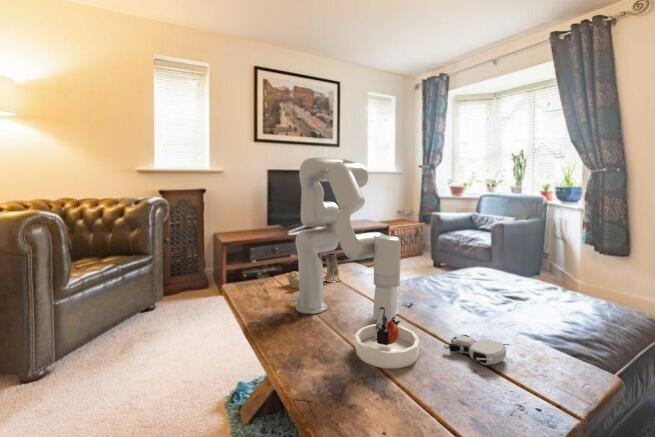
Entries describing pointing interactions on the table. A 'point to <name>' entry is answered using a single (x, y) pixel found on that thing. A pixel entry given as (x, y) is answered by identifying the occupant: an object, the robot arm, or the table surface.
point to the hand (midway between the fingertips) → (386, 337)
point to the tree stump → (331, 268)
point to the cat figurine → (293, 279)
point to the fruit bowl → (387, 348)
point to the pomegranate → (392, 331)
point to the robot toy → (479, 349)
